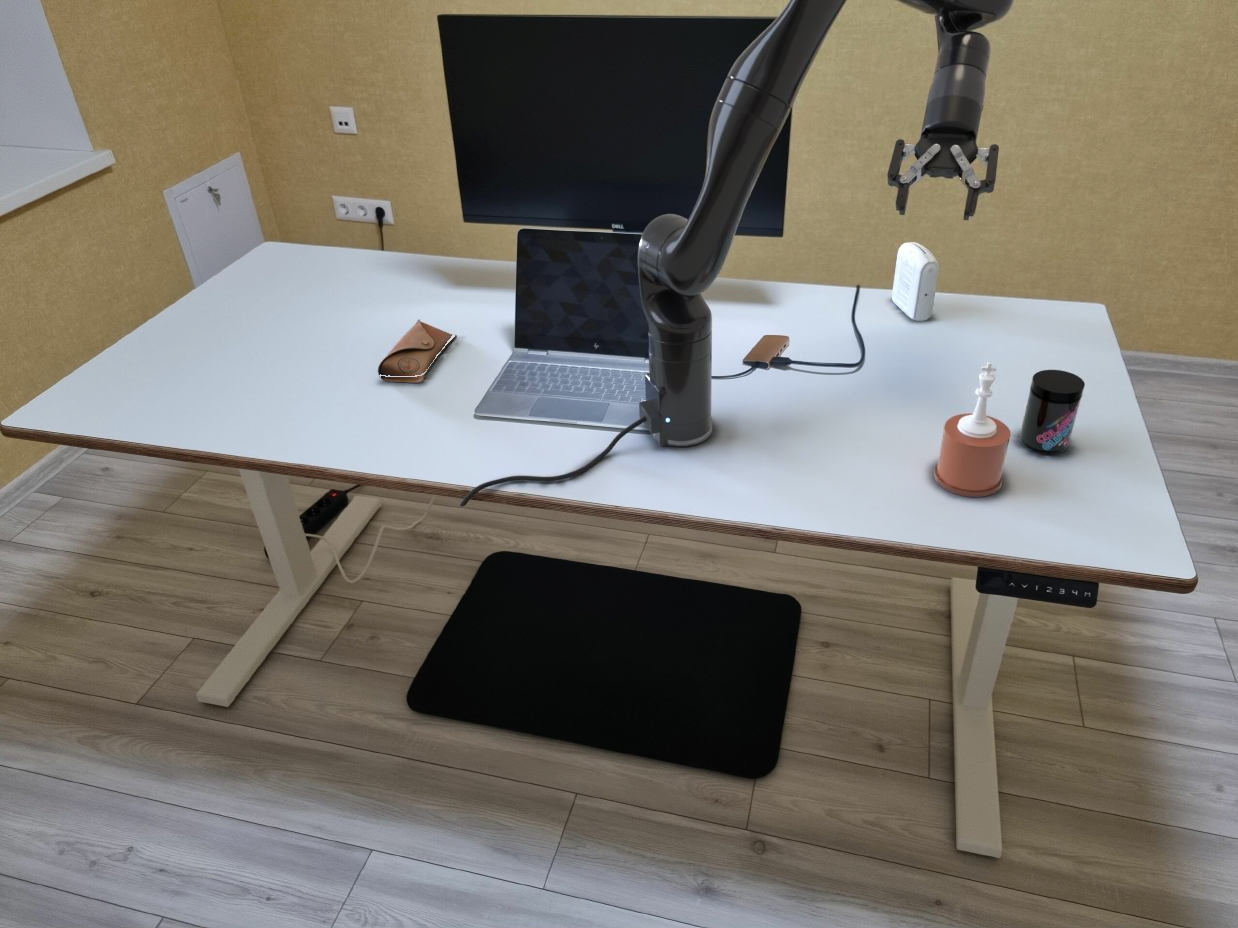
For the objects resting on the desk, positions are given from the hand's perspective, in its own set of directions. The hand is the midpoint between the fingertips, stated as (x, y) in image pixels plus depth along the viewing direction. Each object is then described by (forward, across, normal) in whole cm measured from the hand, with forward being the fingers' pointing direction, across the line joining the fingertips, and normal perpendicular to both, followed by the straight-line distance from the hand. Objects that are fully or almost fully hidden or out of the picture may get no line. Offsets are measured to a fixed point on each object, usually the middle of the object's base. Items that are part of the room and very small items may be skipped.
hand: (933, 215), depth 128 cm
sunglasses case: (+27, -84, +16) cm, 90 cm away
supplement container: (+26, +20, +18) cm, 37 cm away
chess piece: (+28, +10, +4) cm, 30 cm away
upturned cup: (+34, +10, +9) cm, 37 cm away
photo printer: (-3, -4, +47) cm, 47 cm away
